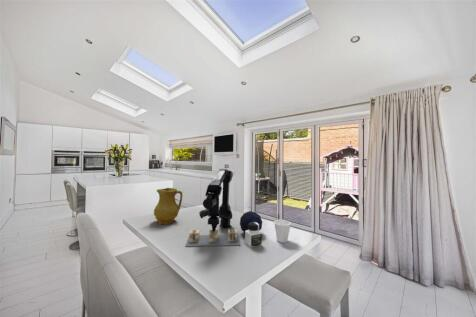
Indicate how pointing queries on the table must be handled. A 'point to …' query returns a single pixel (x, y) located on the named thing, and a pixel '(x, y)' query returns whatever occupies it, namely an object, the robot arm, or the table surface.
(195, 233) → the marked block
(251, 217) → the decorative orb
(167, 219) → the pitcher
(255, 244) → the medicine bottle
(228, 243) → the mat
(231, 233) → the marked block
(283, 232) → the cup
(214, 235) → the plain block
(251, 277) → the table surface
